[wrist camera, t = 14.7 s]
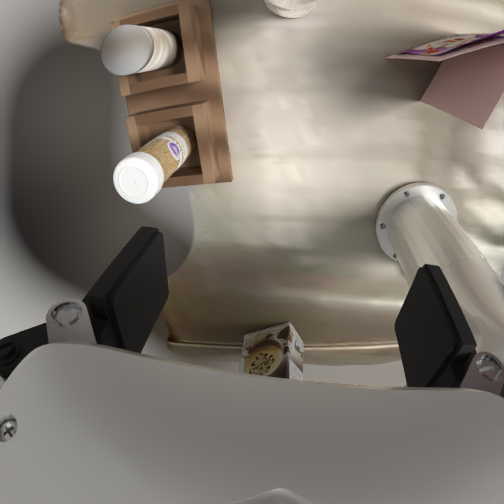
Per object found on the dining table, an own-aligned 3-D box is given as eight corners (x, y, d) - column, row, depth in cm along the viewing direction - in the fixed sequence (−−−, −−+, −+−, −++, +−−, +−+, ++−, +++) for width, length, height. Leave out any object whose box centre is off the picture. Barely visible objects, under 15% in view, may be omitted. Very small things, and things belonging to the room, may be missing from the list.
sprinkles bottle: (204, 142, 38) (167, 183, 27) (180, 166, 40) (137, 214, 29) (177, 117, 36) (129, 147, 25) (154, 142, 38) (103, 182, 27)
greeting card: (455, 27, 26) (528, 26, 13) (475, 81, 29) (549, 103, 17) (381, 51, 30) (433, 50, 17) (406, 106, 33) (463, 136, 21)
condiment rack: (232, 178, 41) (215, 219, 32) (148, 186, 43) (111, 226, 34) (209, -4, 28) (179, -25, 19) (117, 19, 30) (65, 15, 20)
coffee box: (289, 320, 54) (286, 402, 41) (303, 342, 57) (303, 420, 44) (242, 333, 57) (229, 411, 44) (259, 354, 60) (250, 428, 47)
